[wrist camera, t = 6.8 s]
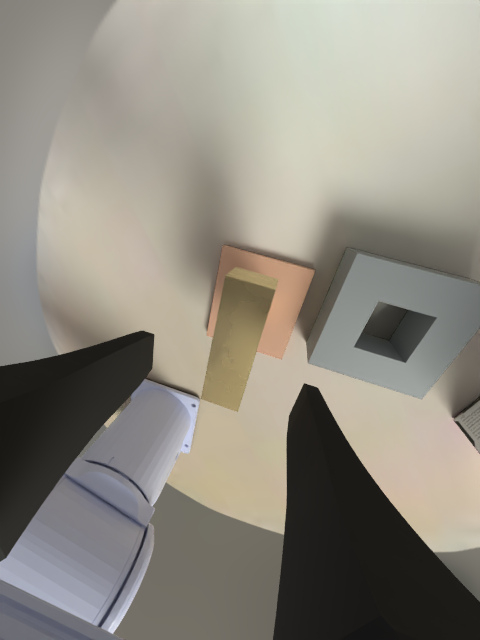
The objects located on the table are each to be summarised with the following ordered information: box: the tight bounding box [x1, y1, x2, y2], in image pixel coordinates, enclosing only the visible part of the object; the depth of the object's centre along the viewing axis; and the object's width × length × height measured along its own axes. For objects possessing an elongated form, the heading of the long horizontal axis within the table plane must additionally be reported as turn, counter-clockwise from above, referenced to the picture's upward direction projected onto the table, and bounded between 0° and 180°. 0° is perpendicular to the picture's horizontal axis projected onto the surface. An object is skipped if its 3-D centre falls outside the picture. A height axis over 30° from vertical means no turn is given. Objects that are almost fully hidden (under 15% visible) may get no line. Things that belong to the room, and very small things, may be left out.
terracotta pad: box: [207, 245, 315, 359], centre depth 19 cm, size 8×7×1 cm
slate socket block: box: [306, 247, 480, 399], centre depth 16 cm, size 8×8×3 cm
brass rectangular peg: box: [201, 267, 279, 412], centre depth 15 cm, size 8×2×7 cm, turn 167°
